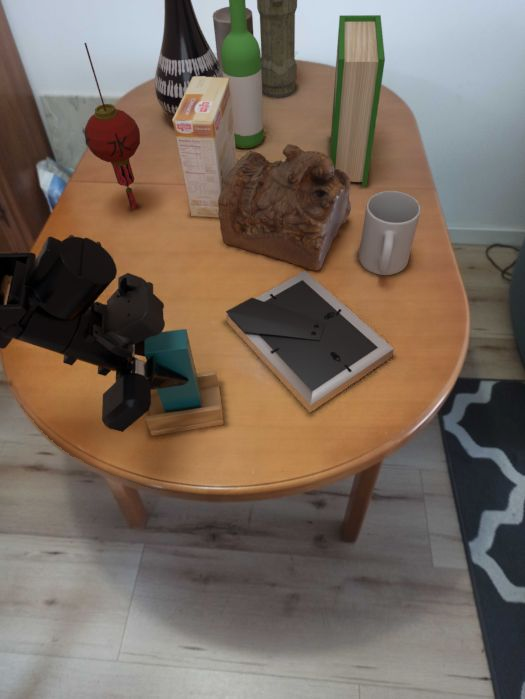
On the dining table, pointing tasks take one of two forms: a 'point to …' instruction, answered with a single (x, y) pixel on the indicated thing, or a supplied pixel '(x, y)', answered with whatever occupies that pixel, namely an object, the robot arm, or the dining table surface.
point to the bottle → (243, 78)
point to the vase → (182, 55)
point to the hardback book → (356, 94)
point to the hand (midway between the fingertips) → (185, 371)
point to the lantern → (113, 140)
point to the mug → (388, 232)
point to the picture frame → (308, 339)
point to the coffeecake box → (205, 141)
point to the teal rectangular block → (175, 369)
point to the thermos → (278, 47)
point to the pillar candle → (226, 27)
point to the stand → (188, 418)
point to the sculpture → (285, 206)
